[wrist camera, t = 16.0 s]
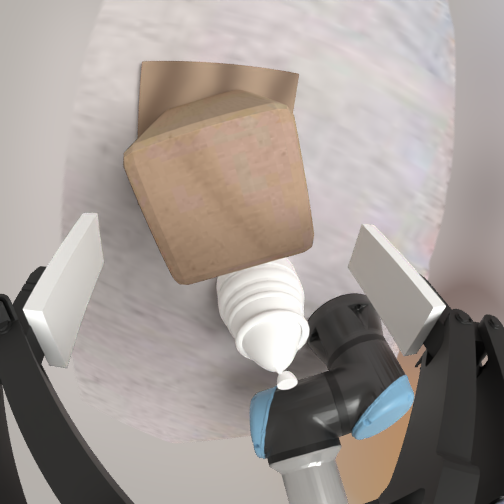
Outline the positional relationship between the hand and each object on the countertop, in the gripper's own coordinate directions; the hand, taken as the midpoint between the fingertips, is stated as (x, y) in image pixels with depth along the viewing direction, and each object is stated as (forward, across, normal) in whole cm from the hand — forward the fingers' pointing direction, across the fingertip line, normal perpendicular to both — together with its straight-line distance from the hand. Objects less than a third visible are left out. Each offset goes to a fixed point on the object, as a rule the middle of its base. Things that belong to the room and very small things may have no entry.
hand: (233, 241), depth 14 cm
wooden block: (+24, 0, 0) cm, 24 cm away
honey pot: (+25, +8, -22) cm, 35 cm away
